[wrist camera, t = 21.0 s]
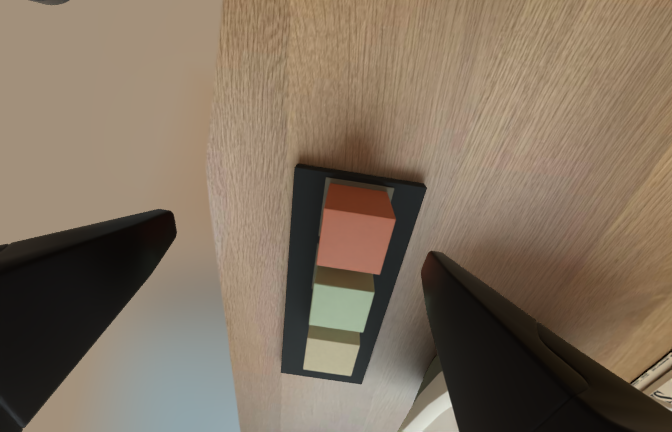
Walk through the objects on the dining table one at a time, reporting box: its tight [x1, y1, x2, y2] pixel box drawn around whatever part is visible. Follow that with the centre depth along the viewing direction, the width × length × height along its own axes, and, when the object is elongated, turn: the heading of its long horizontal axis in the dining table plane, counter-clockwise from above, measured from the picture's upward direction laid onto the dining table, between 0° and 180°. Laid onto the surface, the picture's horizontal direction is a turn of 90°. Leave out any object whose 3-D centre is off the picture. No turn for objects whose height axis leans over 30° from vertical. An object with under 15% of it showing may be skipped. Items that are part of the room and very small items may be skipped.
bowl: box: [398, 354, 672, 432], centre depth 26 cm, size 22×23×8 cm
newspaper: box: [631, 352, 672, 404], centre depth 30 cm, size 24×7×2 cm, turn 171°
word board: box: [281, 164, 427, 384], centre depth 23 cm, size 10×26×5 cm, turn 172°
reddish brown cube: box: [316, 183, 396, 275], centre depth 18 cm, size 4×4×4 cm
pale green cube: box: [309, 265, 375, 332], centre depth 21 cm, size 4×4×4 cm
